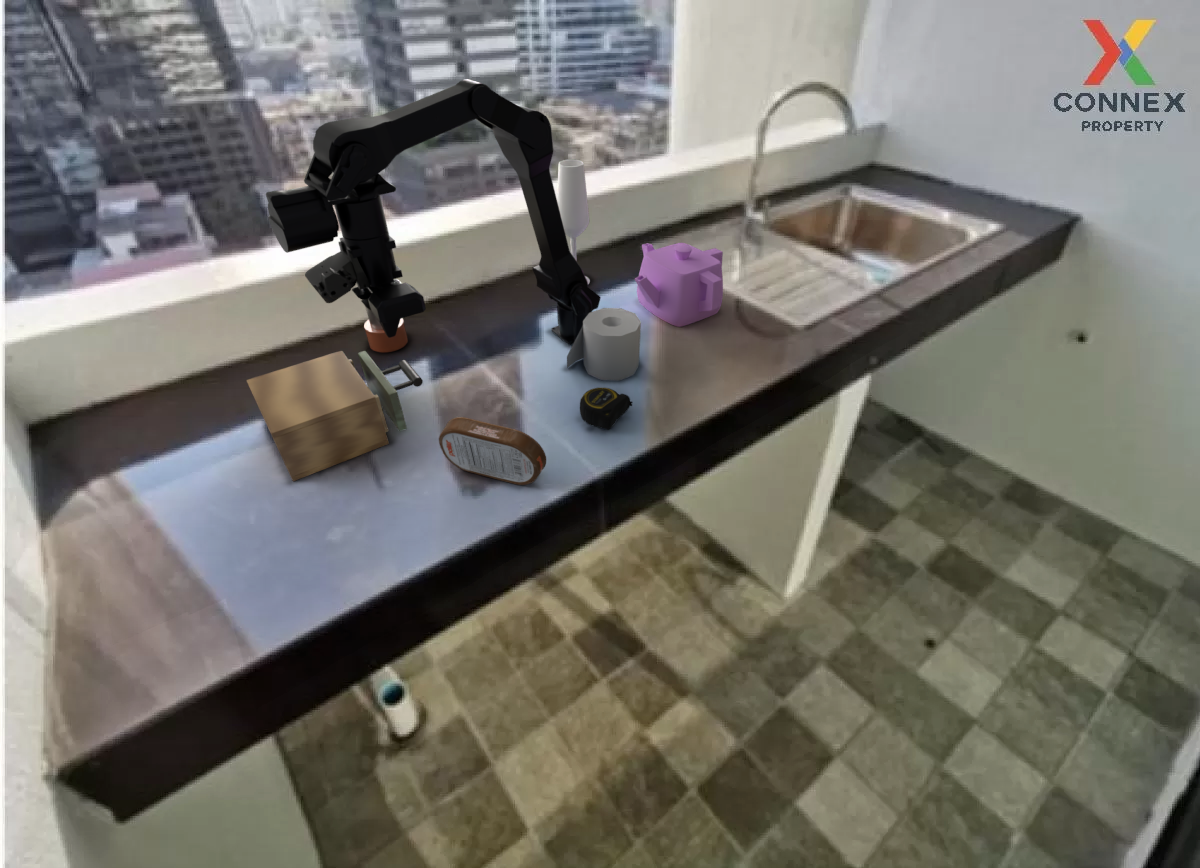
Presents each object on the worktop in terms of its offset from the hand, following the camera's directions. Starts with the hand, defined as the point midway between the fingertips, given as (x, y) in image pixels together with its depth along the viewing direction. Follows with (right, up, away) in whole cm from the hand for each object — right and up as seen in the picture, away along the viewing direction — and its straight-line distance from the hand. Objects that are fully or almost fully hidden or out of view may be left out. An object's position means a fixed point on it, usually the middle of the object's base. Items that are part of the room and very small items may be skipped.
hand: (391, 336), depth 89 cm
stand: (-8, +2, +22) cm, 23 cm away
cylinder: (-8, +5, +19) cm, 21 cm away
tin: (+16, -20, -5) cm, 26 cm away
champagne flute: (+25, +18, +41) cm, 51 cm away
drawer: (-5, -12, +4) cm, 13 cm away
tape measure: (+32, -12, +5) cm, 34 cm away
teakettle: (+46, +11, +32) cm, 57 cm away
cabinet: (-10, -15, +2) cm, 18 cm away
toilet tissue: (+31, -3, +16) cm, 35 cm away
